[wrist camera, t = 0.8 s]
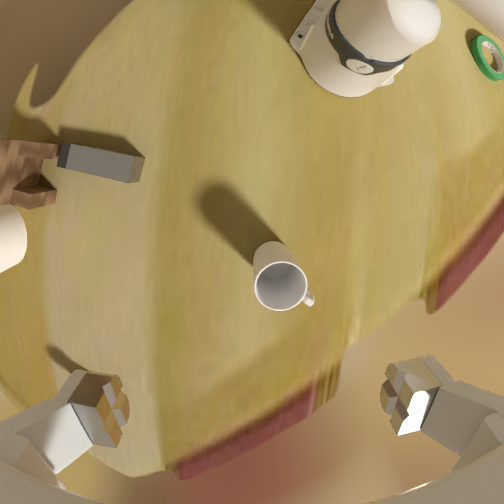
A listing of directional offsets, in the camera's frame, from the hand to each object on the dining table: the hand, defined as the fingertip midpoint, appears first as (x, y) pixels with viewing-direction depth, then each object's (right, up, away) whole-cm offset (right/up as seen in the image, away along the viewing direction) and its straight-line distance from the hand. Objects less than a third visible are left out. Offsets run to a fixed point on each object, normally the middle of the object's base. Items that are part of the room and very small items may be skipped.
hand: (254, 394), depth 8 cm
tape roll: (+53, +48, +30) cm, 78 cm away
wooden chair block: (-37, +19, +35) cm, 55 cm away
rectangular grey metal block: (-24, +19, +36) cm, 47 cm away
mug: (+5, +2, +41) cm, 42 cm away
